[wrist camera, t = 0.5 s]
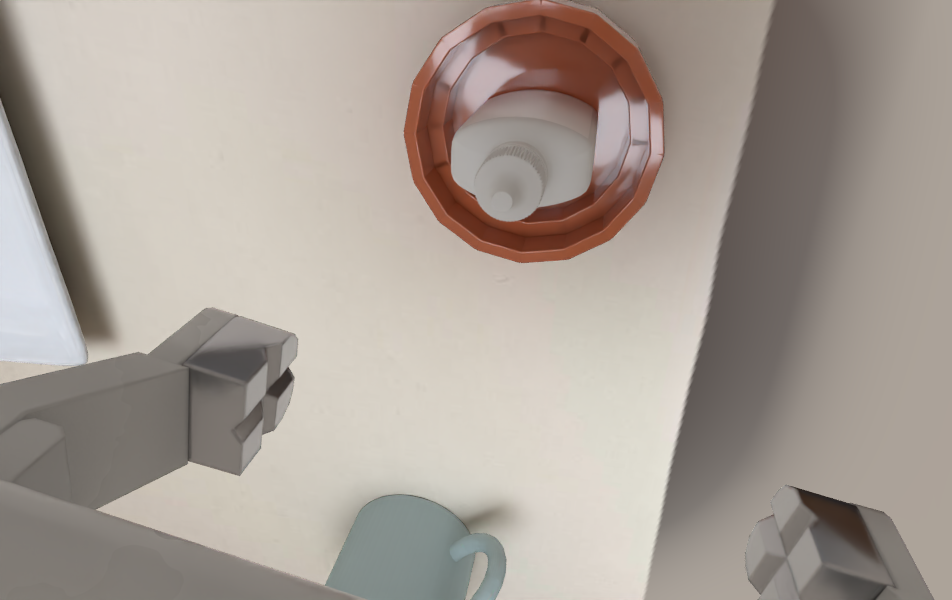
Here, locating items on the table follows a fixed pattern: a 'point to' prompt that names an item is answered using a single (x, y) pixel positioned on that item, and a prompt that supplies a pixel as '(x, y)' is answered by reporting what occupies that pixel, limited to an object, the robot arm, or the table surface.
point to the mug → (414, 554)
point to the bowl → (541, 68)
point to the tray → (31, 274)
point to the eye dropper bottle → (525, 152)
